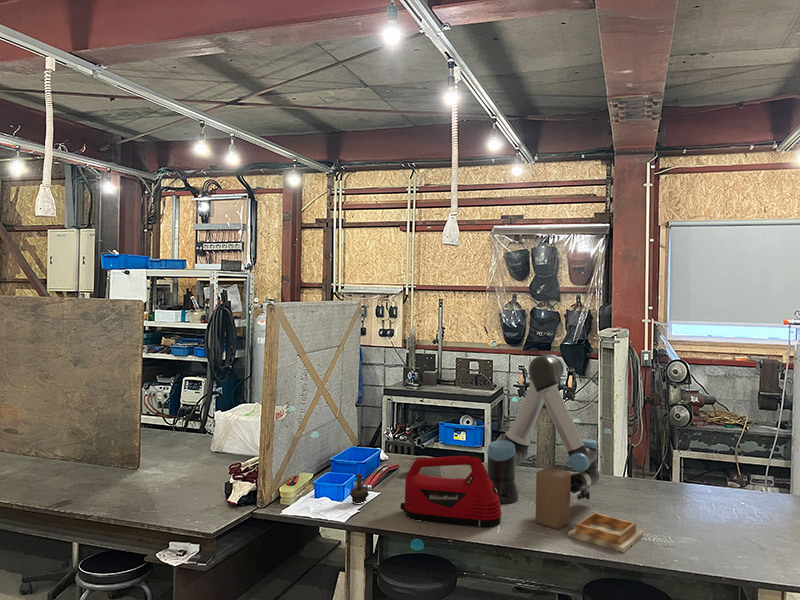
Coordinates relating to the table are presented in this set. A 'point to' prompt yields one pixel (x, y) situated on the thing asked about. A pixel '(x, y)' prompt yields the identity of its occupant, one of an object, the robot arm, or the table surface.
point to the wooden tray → (606, 532)
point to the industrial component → (359, 491)
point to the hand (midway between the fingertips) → (555, 495)
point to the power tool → (452, 494)
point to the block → (553, 497)
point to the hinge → (428, 468)
